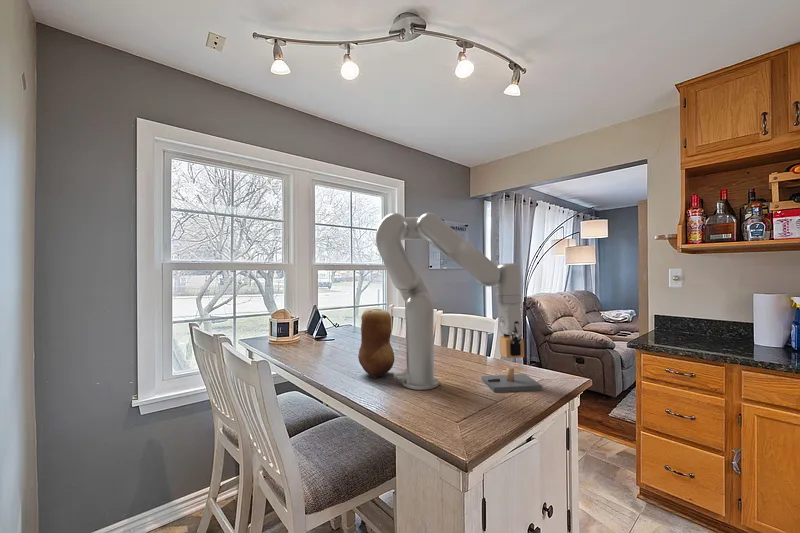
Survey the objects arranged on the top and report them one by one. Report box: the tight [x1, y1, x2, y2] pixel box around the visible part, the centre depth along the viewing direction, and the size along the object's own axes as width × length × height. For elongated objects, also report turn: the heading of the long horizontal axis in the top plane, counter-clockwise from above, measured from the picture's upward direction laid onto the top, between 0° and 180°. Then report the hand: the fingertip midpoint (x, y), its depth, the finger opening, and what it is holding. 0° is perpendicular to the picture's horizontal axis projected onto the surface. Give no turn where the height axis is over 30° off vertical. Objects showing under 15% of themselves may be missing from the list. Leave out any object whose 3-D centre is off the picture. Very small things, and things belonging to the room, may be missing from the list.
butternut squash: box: [358, 308, 395, 378], centre depth 132 cm, size 14×13×25 cm
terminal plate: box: [481, 367, 543, 393], centre depth 119 cm, size 16×12×6 cm
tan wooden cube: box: [498, 336, 525, 359], centre depth 119 cm, size 6×6×6 cm
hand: (511, 352), depth 119 cm, fingers closed on tan wooden cube, 5 cm apart
